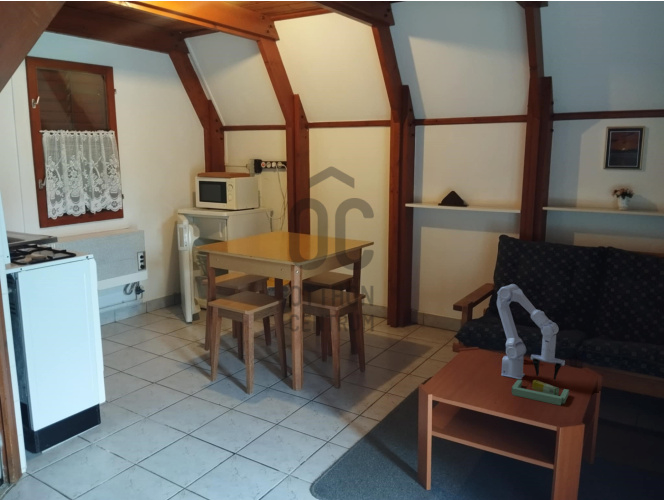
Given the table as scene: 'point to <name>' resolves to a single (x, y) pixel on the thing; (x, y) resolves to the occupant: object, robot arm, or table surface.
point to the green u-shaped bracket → (539, 394)
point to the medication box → (545, 388)
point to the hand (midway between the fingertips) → (546, 377)
